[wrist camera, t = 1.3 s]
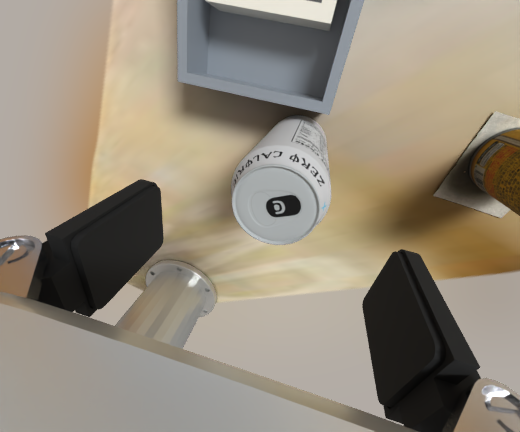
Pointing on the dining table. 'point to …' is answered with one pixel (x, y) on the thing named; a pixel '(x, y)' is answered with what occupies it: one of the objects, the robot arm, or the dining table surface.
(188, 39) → the walled box
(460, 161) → the condiment
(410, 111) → the dining table surface
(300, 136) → the energy drink can
